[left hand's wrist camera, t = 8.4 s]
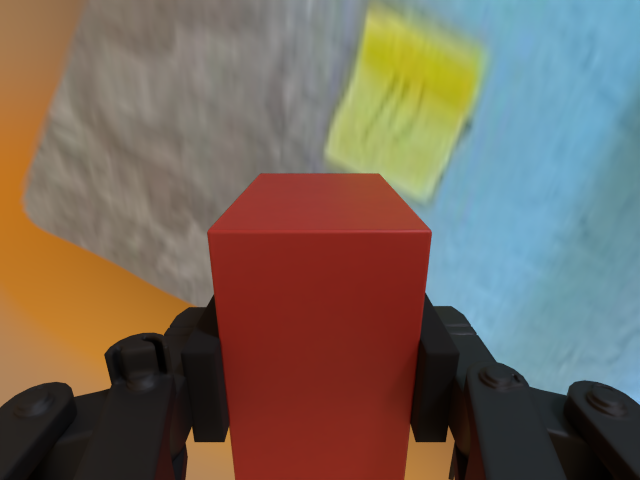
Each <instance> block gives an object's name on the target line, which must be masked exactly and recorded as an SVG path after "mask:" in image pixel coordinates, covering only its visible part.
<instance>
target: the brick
mask: <svg viewBox="0 0 640 480" xmlns="http://www.w3.org/2000/svg"><path fill="white" fill-rule="evenodd" d="M207 234H208V243H209V252H210V261H211V270H212V279H213V287H214V296H215V305H216V314H217V323H218V331H219V339H220V346H221V355H222V364H223V373H224V382H225V391H226V399H227V408H228V417H229V428H230V437H231V446H232V455H233V464H234V473H235V480H404V476H405V467H406V458H407V449H408V440H409V432H410V422H411V414H412V405H413V396H414V387H415V378H416V369H417V360H418V351H419V343H420V334H421V325H422V316H423V307H424V298H425V290H426V281H427V272H428V263H429V254H430V245H431V236H432V232H431V230H430V229H429V228H428V226H427V225H426V224H425V223H424V222H423V221H422V220H421V219H420V218H419V217H418V216H417V214H416V213H415V212H414V211H413V210H412V209H411V208H410V207H409V206H408V205H407V204H406V202H405V201H404V200H403V199H402V198H401V197H400V196H399V195H398V194H397V193H396V191H395V190H394V189H393V188H392V187H391V186H390V185H389V184H388V183H387V182H386V181H385V179H384V178H383V177H382V176H381V175H380V174H260V175H259V176H258V177H257V178H256V179H255V180H254V181H253V182H252V183H251V184H250V185H249V187H248V188H247V189H246V190H245V191H244V192H243V193H242V194H241V195H240V196H239V197H238V198H237V200H236V201H235V202H234V203H233V204H232V205H231V206H230V207H229V208H228V209H227V210H226V212H225V213H224V214H223V215H222V216H221V217H220V218H219V219H218V220H217V221H216V222H215V223H214V225H213V226H212V227H211V228H210V229H209V230H208V232H207Z"/></svg>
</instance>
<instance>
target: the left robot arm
mask: <svg viewBox="0 0 640 480" xmlns="http://www.w3.org/2000/svg"><path fill="white" fill-rule="evenodd" d="M104 356H105V359H106V364H107V368H108V372H109V376H110V380H111V384H112V385H111V388H110V389H106V390H103V391H99V392H95V393H90V394H85V395H81V396H77V397H74V395H73V392H72V389H71V387H70V386H68V385H67V384H66V383H60V382H52V383H44V384H41V385H37V386H34V387H31V388H29V389H27V390H25V391H23V392H21V393H19V394H17V395H15V396H14V397H13V398H11V399H10V400H9V401H8V402H6V403H5V404H4V405H3V406H1V407H0V480H185V477H186V468H187V458H188V456H187V449H186V443H185V442H186V440H187V437H188V435H189V432H190V430H191V427H192V429H193V435H194V441H195V442H225V438H226V435H227V431H228V428H229V417H228V408H227V399H226V391H225V382H224V373H223V364H222V355H221V346H220V339H219V331H218V323H217V314H216V305H215V296H214V295H213V297H212V299H211V300H210V302H209V304H208V306H207V307H189V308H187V309H186V310H184V311H183V312H182V313H180V314H179V315H177V316H176V318H175V319H174V321H173V322H172V323H171V325H170V328H168V329H167V331H166V332H165V334H164V336H163V335H161V334H157V333H141V334H137V335H132V336H129V337H127V338H125V339H122V340H120V341H118V342H117V343H115V344H114V345H113V346H111V347H110V348H109V349H108V350H107V352H106V353H105V354H104ZM410 423H411V427H412V430H413V434H414V437H415V441H416V442H446V437H447V430H448V425H449V428H450V430H451V432H452V435H453V437H454V440H455V443H454V449H453V455H452V461H451V466H450V472H449V479H450V480H453V479H454V477H455V480H640V405H639V404H638V403H637V402H636V401H634V400H633V399H632V398H630V397H629V396H628V395H626V394H625V393H623V392H621V391H619V390H617V389H615V388H613V387H611V386H608V385H605V384H602V383H599V382H593V381H585V380H584V381H578V382H574V383H573V384H572V385H571V386H569V390H568V393H567V396H566V395H562V394H557V393H553V392H548V391H544V390H539V389H536V388H532V387H529V384H528V383H527V381H526V380H525V379H524V377H523V376H522V375H521V374H519V373H518V372H517V371H516V370H514V369H512V368H510V367H508V366H506V365H504V364H501V363H497V362H496V360H495V359H494V358H493V356H492V355H491V353H490V352H489V350H488V349H487V347H486V346H485V345H484V343H483V342H482V340H481V339H480V337H479V336H478V335H477V334H476V332H475V330H474V329H473V327H471V325H470V323H469V322H468V320H467V319H466V317H465V316H464V315H463V314H462V313H460V312H459V311H458V310H456V309H455V308H453V307H452V306H433V305H432V303H431V302H430V300H429V298H428V296H427V295H426V293H425V298H424V307H423V316H422V325H421V334H420V343H419V351H418V360H417V369H416V378H415V387H414V396H413V405H412V414H411V422H410Z"/></svg>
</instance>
